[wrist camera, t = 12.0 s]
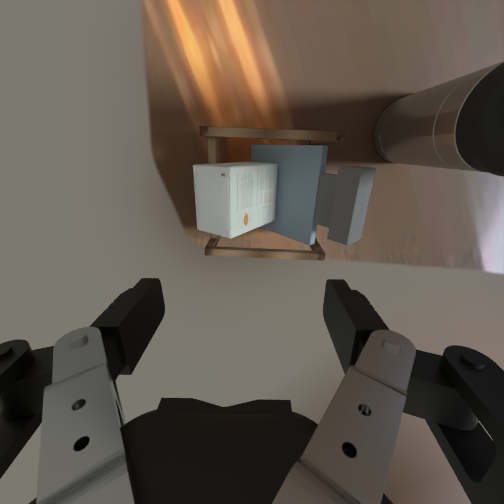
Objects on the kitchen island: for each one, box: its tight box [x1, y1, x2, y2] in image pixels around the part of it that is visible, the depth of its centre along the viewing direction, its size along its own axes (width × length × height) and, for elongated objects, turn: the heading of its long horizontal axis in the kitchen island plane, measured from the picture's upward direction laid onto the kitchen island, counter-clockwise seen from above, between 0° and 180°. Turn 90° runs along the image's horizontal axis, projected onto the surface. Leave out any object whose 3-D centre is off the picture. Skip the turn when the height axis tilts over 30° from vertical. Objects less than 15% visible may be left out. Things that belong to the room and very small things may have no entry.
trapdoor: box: [251, 144, 376, 245], centre depth 33 cm, size 18×12×3 cm
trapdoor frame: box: [200, 126, 346, 260], centre depth 35 cm, size 15×15×14 cm
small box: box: [193, 162, 278, 239], centre depth 32 cm, size 8×6×10 cm
